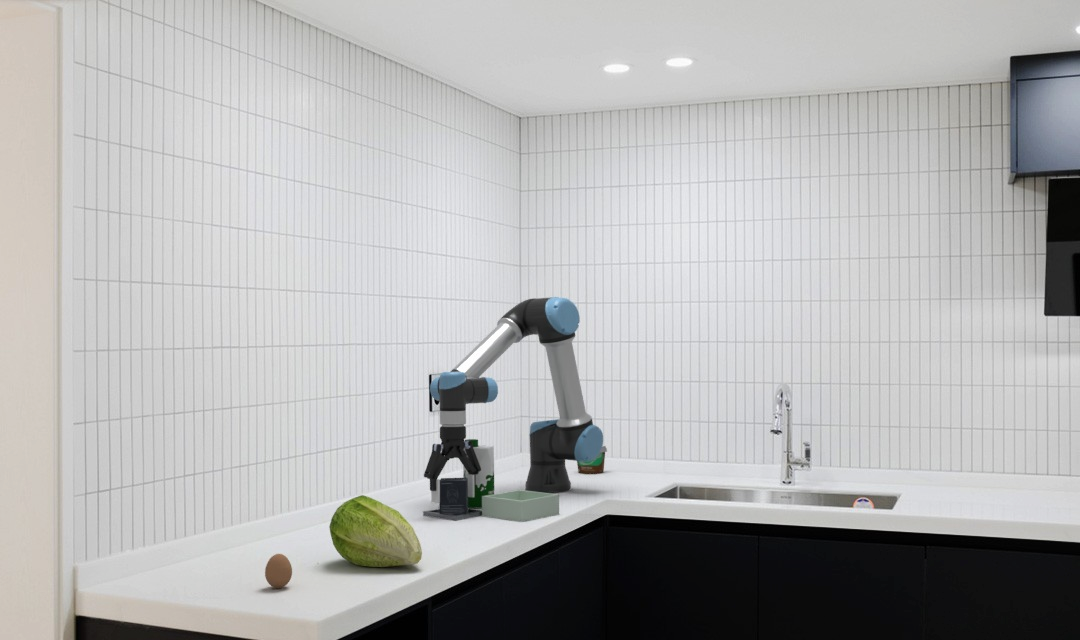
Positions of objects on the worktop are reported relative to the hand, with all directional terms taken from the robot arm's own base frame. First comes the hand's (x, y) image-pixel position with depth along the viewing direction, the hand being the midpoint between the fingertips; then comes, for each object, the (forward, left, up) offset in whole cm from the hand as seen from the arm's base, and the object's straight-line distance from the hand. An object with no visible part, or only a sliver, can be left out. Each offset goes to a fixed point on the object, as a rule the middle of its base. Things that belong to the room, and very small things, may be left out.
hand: (453, 499), depth 303 cm
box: (0, 0, -5) cm, 5 cm away
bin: (-12, +15, -5) cm, 20 cm away
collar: (0, 0, -5) cm, 5 cm away
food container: (-94, -27, -5) cm, 98 cm away
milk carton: (-16, -6, -5) cm, 18 cm away
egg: (+83, +36, -5) cm, 90 cm away
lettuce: (+56, +35, -5) cm, 66 cm away
